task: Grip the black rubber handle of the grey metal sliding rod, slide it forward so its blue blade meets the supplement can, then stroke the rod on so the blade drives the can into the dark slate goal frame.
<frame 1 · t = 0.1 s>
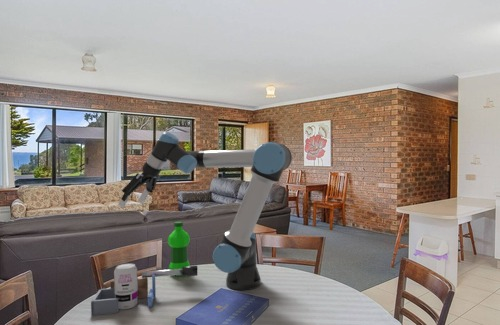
hand: (130, 204, 153), 36 cm above the table, tool tilted 35°, fingers open, 13 cm apart
goal: (108, 307, 129), on the table
plastic bottle: (179, 274, 165), on the table
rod: (169, 284, 136), point 6 cm above the table, slide at 0.0 cm
brown wooden board: (129, 298, 137), on the table
supplement can: (126, 306, 130), on the table
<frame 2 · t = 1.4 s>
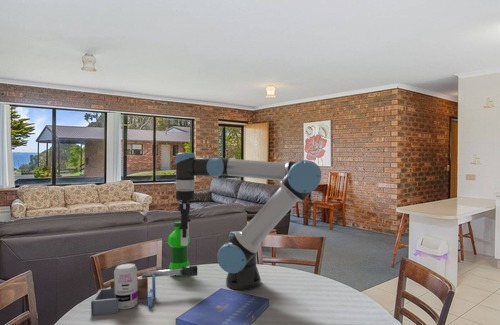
hand: (185, 241, 142), 21 cm above the table, tool pointing down, fingers open, 13 cm apart
nothing on the table moved.
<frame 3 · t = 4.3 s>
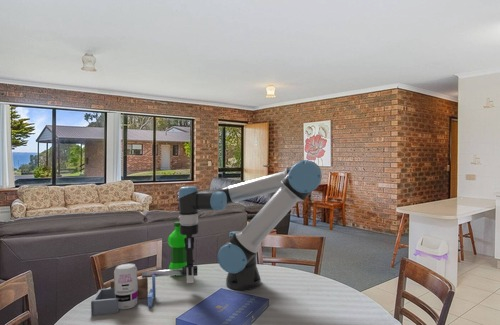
hand: (190, 280, 141), 5 cm above the table, tool pointing down, fingers closed on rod, 4 cm apart
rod: (169, 284, 136), point 6 cm above the table, slide at 0.0 cm, touching gripper
everything else where it was.
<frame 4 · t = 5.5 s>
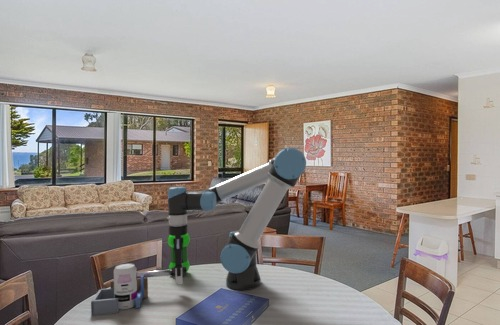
hand: (179, 281, 141), 5 cm above the table, tool pointing down, fingers closed on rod, 4 cm apart
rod: (158, 285, 135), point 6 cm above the table, slide at 4.4 cm, touching gripper, supplement can
supplement can: (125, 306, 130), on the table, touching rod
everything else where it was.
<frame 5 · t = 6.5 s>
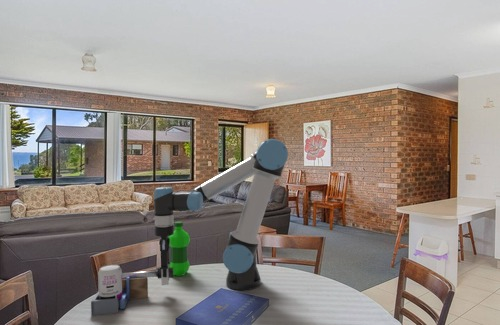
hand: (165, 282, 140), 5 cm above the table, tool pointing down, fingers closed on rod, 4 cm apart
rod: (143, 286, 134), point 6 cm above the table, slide at 9.8 cm, touching gripper, supplement can
supplement can: (110, 307, 129), on the table, touching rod
everything else where it was.
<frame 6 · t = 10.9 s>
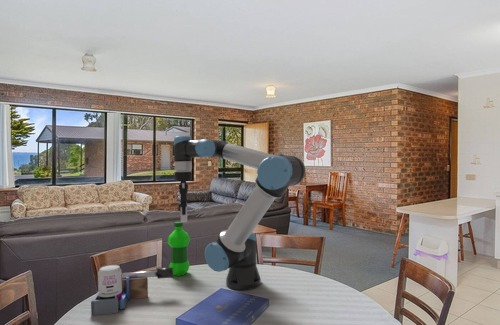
hand: (184, 219, 151), 29 cm above the table, tool pointing down, fingers open, 13 cm apart
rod: (143, 286, 134), point 6 cm above the table, slide at 9.9 cm
supplement can: (110, 307, 129), on the table
everything else where it was.
at the end: supplement can inside the target area (1.1 cm from its centre), on the table; supplement can tilted 0°; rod slide at 9.9 cm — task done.
